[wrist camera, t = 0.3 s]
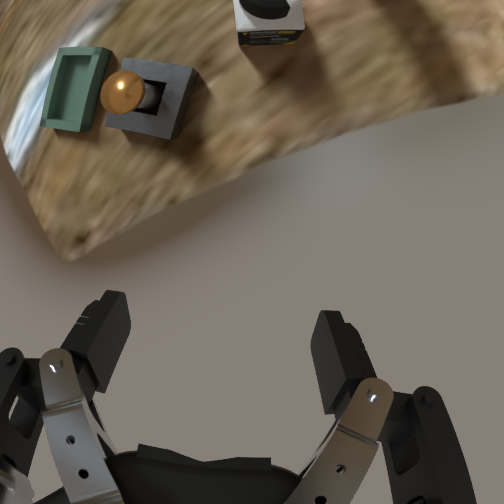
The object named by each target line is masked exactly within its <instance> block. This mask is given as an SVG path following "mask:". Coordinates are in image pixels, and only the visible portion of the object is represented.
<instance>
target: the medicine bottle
mask: <svg viewBox="0 0 504 504" xmlns="http://www.w3.org/2000/svg"><path fill="white" fill-rule="evenodd" d="M233 4H234V13H235V21H236V30H237V38H238V45H239V46H240V47H246V46H259V45H282V44H294V43H295V42H296V41H297V39H298V38H299V36H300V35H301V33H302V32H303V30H304V29H305V24H304V18H303V12H302V6H301V0H233Z"/></svg>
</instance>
